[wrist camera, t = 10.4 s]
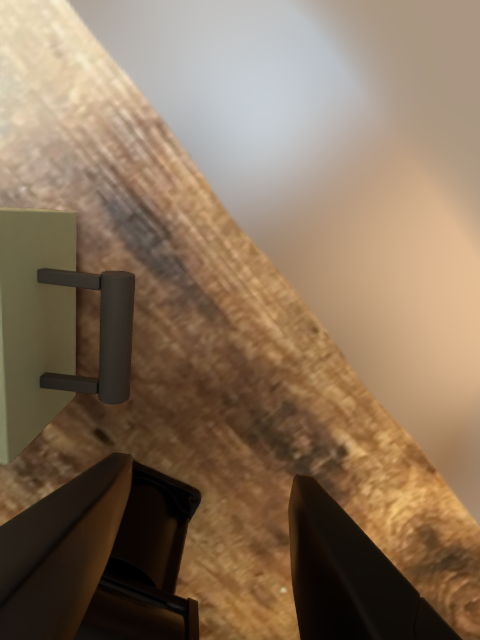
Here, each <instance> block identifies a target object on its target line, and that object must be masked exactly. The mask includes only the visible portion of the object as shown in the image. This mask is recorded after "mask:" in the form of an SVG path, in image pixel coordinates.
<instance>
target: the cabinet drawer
mask: <svg viewBox="0 0 480 640" xmlns="http://www.w3.org/2000/svg"><path fill="white" fill-rule="evenodd" d="M76 287H77V288H85V289H93V290H100V289H101V306H100V350H99V378H92V377H83V376H76ZM134 290H135V275H134V274H132V273H129V272H123V271H105V272H102V274H101V275H99V274H91V273H83V272H76V213H75V212H67V211H60V210H48V209H28V208H9V207H0V464H3V465H9V464H10V463H11V462H12V461H13V460H14V459H15V458H16V457H17V456H18V455H19V454H20V453H21V452H22V451H23V450H24V449H25V448H26V447H27V446H28V445H29V444H30V443H31V442H32V441H33V440H34V439H35V437H36V436H37V435H38V434H39V433H40V432H41V431H42V430H43V429H44V428H45V427H46V426H47V425H48V424H49V423H50V422H51V421H52V420H53V419H54V418H55V417H56V416H57V415H58V414H59V413H60V412H61V411H62V410H63V409H64V408H65V407H66V406H67V405H68V404H69V403H70V402H71V401H72V399H73V398H74V397H75V396H76V392H79V393H87V394H95V395H96V394H98V398H99V400H100V401H101V402H102V403H105V404H112V405H113V404H121V403H124V402H126V401H127V400H128V399H129V395H130V374H131V353H132V332H133V311H134Z"/></svg>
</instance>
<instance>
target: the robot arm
mask: <svg viewBox="0 0 480 640" xmlns="http://www.w3.org/2000/svg"><path fill="white" fill-rule="evenodd" d="M191 497H195V498H196V499H192V498H191ZM201 497H202V496H201V493H200V491H198V490H196V489H194V488H192V487H189V486H187V485H185V484H183V483H180V482H178V481H176V480H173V479H171V478H169V477H167V476H164V475H162V474H160V473H157V472H155V471H153V470H151V469H148V468H146V467H144V466H141V465H139V464H137V463H135V462H133V459H132V456H131V454H126V453H117V452H116V453H113V454H111V455H110V456H108V457H106V458H105V459H103V460H102V461H100V462H99V463H97V464H96V465H94V466H93V467H91V468H89V469H88V470H86V471H85V472H83V473H82V474H80V475H79V476H77V477H76V478H74V479H73V480H71V481H69V482H68V483H66V484H65V485H63V486H62V487H60V488H59V489H57V490H56V491H54V492H53V493H51V494H49V495H48V496H46V497H45V498H43V499H42V500H40V501H39V502H37V503H36V504H34V505H32V506H31V507H29V508H28V509H26V510H25V511H23V512H22V513H20V514H19V515H17V516H16V517H14V518H12V519H11V520H9V521H8V522H6V523H5V524H3V525H2V526H0V640H199V616H198V601H196V600H193V599H191V598H187V599H185V598H182V597H180V596H177V595H175V590H176V585H177V580H178V575H179V569H180V564H181V559H182V554H183V549H184V544H185V538H186V533H187V528H188V523H189V522H190V520H191V518H192V516H193V515H194V513H195V511H196V509H197V508H198V506H199V504H200V502H201ZM288 518H289V538H290V559H291V576H292V586H293V594H294V601H295V607H296V613H297V620H298V626H299V633H300V639H301V640H463V639H462V638H461V637H460V636H459V635H458V634H457V633H456V632H455V631H454V630H453V629H452V628H451V627H450V626H449V625H448V624H447V622H446V621H445V620H444V619H443V618H442V617H441V616H440V615H439V614H438V613H437V612H436V611H435V610H434V608H433V607H432V606H431V605H430V604H429V603H428V602H427V601H426V600H425V599H424V598H423V597H421V598H420V593H419V592H418V591H417V590H416V589H415V588H414V587H413V586H412V584H411V583H410V582H409V581H408V580H407V579H406V578H405V577H404V576H403V575H402V573H401V572H400V571H399V570H398V569H397V568H396V567H395V566H394V565H393V564H392V562H391V561H390V560H389V559H388V558H387V557H386V556H385V555H384V554H383V553H382V551H381V550H380V549H379V548H378V547H377V546H376V545H375V544H374V543H373V542H372V540H371V539H370V538H369V537H368V536H367V535H366V534H365V533H364V532H363V531H362V529H361V528H360V527H359V526H358V525H357V524H356V523H355V522H354V521H353V520H352V518H351V517H350V516H349V515H348V514H347V513H346V512H345V511H344V510H343V509H342V507H341V506H340V505H339V504H338V503H337V502H336V501H335V500H334V499H333V498H332V496H331V495H330V494H329V493H328V492H327V491H326V490H325V489H324V488H323V487H322V485H321V484H320V483H319V482H318V481H317V480H316V479H315V478H314V477H313V476H311V475H304V474H296V475H295V476H294V479H293V484H292V489H291V494H290V499H289V507H288Z"/></svg>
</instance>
